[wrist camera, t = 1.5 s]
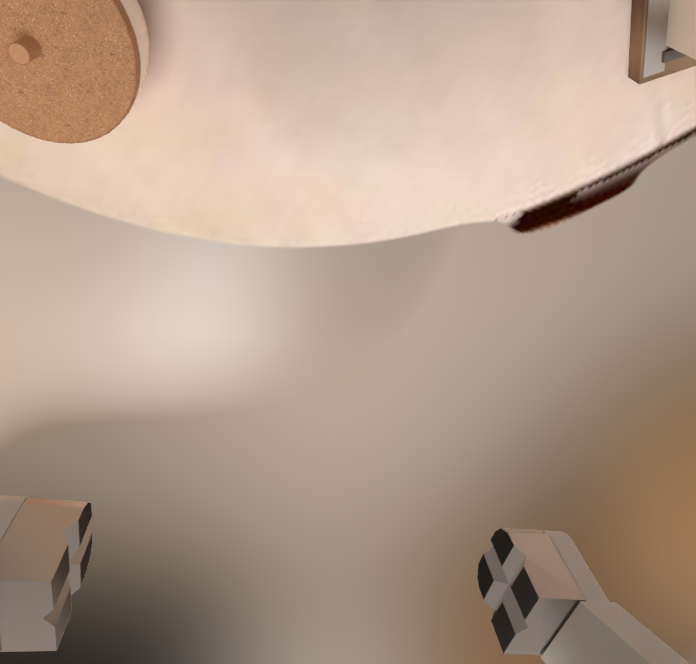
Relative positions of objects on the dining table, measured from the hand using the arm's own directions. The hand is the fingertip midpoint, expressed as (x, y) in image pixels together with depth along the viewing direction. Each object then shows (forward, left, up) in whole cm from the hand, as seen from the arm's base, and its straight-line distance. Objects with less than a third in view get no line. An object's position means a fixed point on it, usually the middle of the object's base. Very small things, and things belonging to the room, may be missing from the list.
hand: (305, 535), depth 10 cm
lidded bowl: (+5, -17, -41) cm, 45 cm away
